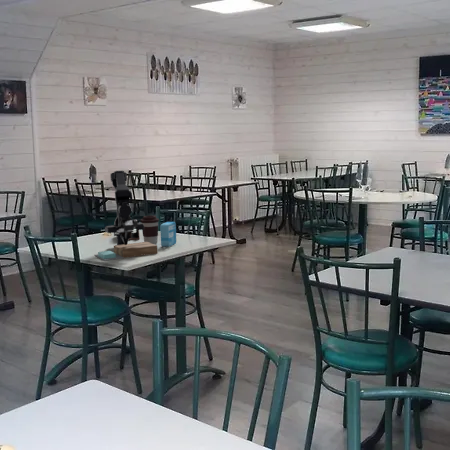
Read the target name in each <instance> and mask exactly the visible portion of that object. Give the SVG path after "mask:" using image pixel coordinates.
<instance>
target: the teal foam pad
mask: <svg viewBox="0 0 450 450" xmlns="http://www.w3.org/2000/svg"><path fill="white" fill-rule="evenodd" d="M97 254H98V256H99V257H101V258H103V259H108V258H115V257H116V253H114V251H111V250H102V251H97Z"/></svg>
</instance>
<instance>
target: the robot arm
mask: <svg viewBox="0 0 450 450" xmlns="http://www.w3.org/2000/svg"><path fill="white" fill-rule="evenodd" d="M127 181H128V174H127V172H125V170H115V171H113V172H111V173H110V182H111V185H112V187H113V188H114V190H115V191H114V200H115V204H116V205H115V206H116V218H115V220H114V224H113V225H106V226H105V227H104V231H105V233H107V234H113V236H114V237H116V245H123V244H124V245H127V244H129V240H128V239H129V236H130V235H131V233H134V230H136V228H137V229H138V230H139V231H142V230H144V225H143V224H142V223H141V222H138V220H137V219H132V218H131V213H132V209H131V207H130V204H132V203H133V200H134V199H133V193H132V191H131V190H130V189H129V186H127V185H126V184H127Z"/></svg>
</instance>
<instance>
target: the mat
mask: <svg viewBox="0 0 450 450" xmlns="http://www.w3.org/2000/svg"><path fill="white" fill-rule="evenodd" d="M94 256H95V257H96V258H99V259H100V260H102V261H104V262H105V261H112V260H120V259H125V258H124V257H122V256H120V255H118V254H116V257H115V258H108V259H103V258H101V257H99V256H98V253H97V254H94Z"/></svg>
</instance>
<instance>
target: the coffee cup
mask: <svg viewBox="0 0 450 450" xmlns="http://www.w3.org/2000/svg"><path fill="white" fill-rule="evenodd" d="M159 222H160V218H157V215H145V216H143V217H142V218H141V219H140V223H142V224H143V225H144V230H141V232H142V237H143V242H149V243H152V244H154V245H157V244H158V237H159Z"/></svg>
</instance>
